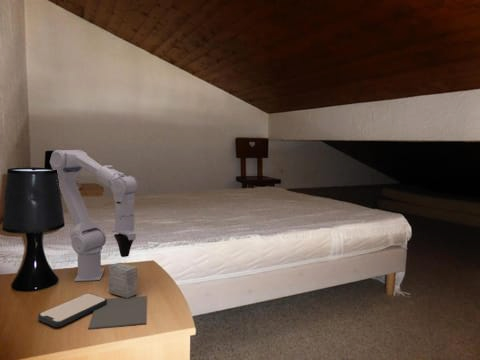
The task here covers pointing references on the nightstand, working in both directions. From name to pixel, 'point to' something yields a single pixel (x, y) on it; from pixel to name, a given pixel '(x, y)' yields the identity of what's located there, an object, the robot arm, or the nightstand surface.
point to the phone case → (72, 309)
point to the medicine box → (123, 280)
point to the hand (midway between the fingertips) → (124, 256)
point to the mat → (120, 313)
